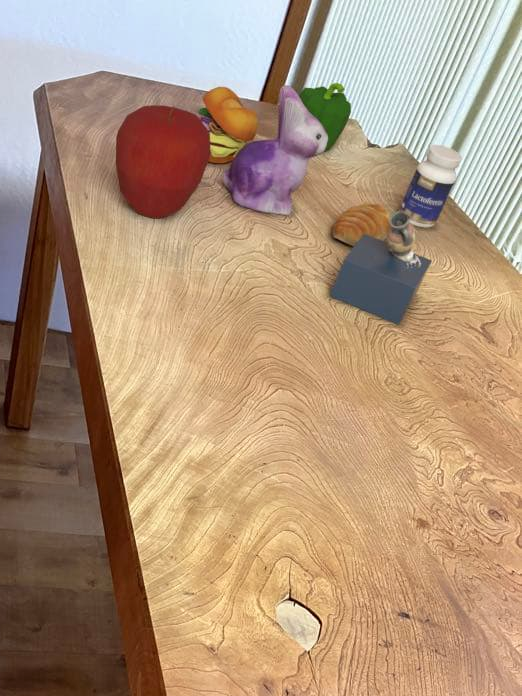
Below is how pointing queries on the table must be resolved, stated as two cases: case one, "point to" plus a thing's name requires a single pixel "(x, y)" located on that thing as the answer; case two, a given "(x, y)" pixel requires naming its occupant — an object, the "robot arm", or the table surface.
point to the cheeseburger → (226, 124)
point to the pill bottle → (431, 186)
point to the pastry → (362, 223)
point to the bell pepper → (328, 109)
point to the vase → (401, 237)
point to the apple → (160, 158)
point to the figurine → (277, 159)
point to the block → (379, 279)
